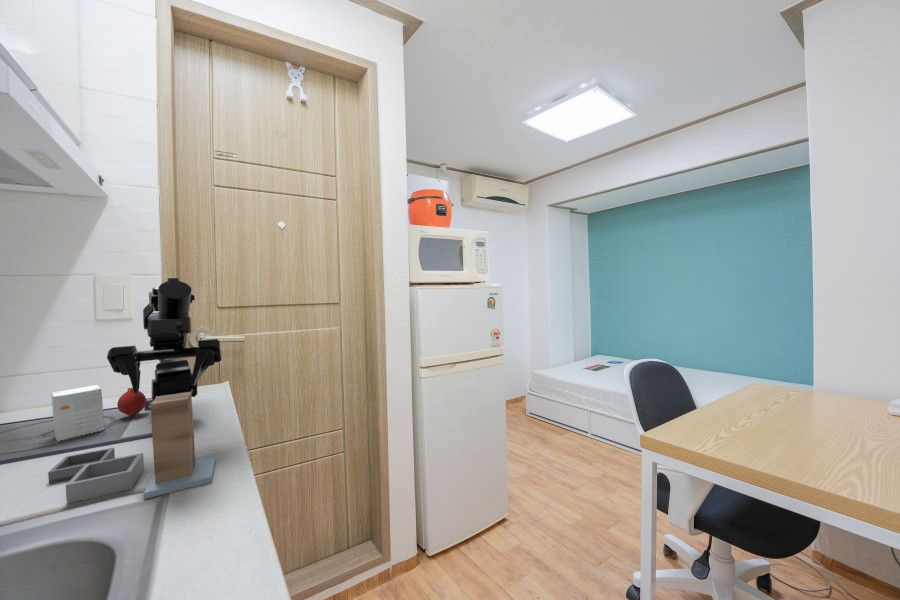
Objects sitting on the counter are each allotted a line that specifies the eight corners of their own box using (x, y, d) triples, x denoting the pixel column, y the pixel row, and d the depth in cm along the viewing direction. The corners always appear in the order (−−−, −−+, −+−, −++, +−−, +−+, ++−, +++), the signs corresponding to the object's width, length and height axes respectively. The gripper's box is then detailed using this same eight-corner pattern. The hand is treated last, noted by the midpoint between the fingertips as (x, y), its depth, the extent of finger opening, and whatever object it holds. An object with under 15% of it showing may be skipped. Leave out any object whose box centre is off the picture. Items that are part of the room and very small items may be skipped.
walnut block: (161, 470, 64) (156, 396, 63) (195, 463, 66) (191, 391, 66) (155, 483, 60) (150, 404, 59) (191, 475, 62) (187, 398, 62)
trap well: (66, 466, 69) (65, 456, 69) (114, 457, 72) (114, 447, 72) (48, 483, 63) (48, 472, 63) (102, 472, 66) (101, 461, 66)
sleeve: (86, 480, 63) (85, 464, 63) (144, 468, 67) (143, 452, 67) (66, 503, 56) (65, 485, 56) (132, 488, 60) (131, 471, 60)
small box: (101, 425, 90) (98, 384, 90) (105, 430, 87) (102, 387, 86) (54, 436, 84) (51, 392, 83) (56, 442, 80) (52, 396, 80)
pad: (157, 471, 66) (157, 466, 66) (216, 458, 70) (215, 453, 70) (144, 499, 57) (143, 492, 57) (211, 482, 61) (211, 476, 61)
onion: (132, 412, 99) (131, 384, 99) (152, 412, 99) (151, 383, 99) (112, 420, 93) (110, 390, 93) (133, 420, 93) (131, 389, 93)
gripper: (107, 307, 71) (89, 373, 62) (217, 303, 81) (216, 359, 71) (121, 341, 79) (107, 405, 69) (221, 334, 88) (221, 389, 79)
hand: (165, 388), depth 72 cm, fingers open, 9 cm apart
